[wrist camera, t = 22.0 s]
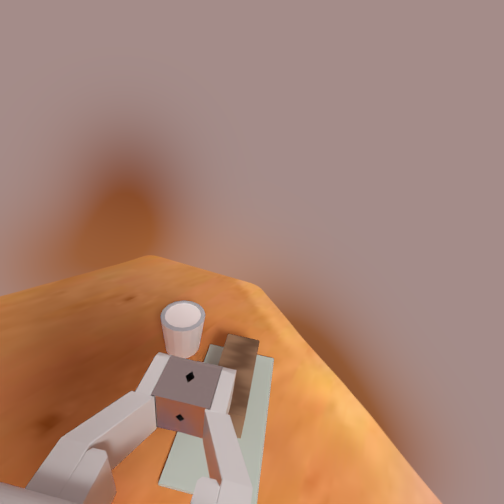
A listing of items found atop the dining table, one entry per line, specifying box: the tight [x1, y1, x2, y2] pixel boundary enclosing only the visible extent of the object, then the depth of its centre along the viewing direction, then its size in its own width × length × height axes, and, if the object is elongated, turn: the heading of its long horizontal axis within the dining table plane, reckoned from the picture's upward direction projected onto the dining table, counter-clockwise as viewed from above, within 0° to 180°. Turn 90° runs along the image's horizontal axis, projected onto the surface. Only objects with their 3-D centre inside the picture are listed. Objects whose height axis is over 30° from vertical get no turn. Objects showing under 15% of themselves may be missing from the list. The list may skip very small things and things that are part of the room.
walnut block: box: [218, 334, 259, 439], centre depth 40 cm, size 5×5×12 cm
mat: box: [158, 344, 274, 504], centre depth 40 cm, size 11×20×1 cm, turn 170°
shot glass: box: [160, 301, 205, 358], centre depth 46 cm, size 7×7×7 cm
